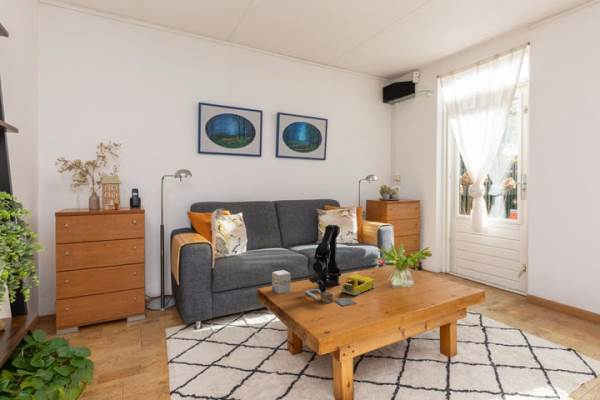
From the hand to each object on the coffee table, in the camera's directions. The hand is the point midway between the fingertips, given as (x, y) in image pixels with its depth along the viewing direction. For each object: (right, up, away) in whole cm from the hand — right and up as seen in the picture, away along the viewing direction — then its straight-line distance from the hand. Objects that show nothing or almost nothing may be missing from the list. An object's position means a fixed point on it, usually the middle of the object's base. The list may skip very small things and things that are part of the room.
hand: (322, 294), depth 184 cm
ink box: (-24, -2, +12) cm, 27 cm away
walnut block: (+2, -2, -4) cm, 5 cm away
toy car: (+23, -2, +14) cm, 27 cm away
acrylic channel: (-2, -2, +5) cm, 6 cm away
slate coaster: (+12, -3, -6) cm, 14 cm away
